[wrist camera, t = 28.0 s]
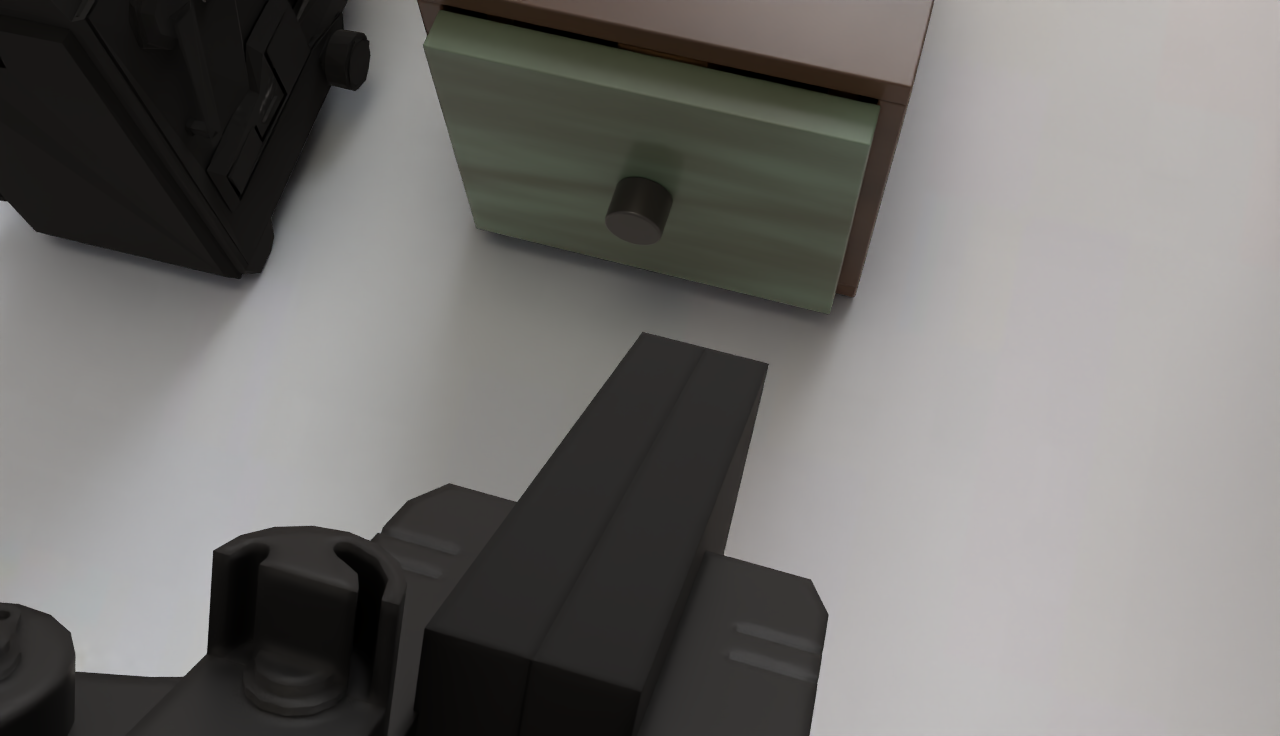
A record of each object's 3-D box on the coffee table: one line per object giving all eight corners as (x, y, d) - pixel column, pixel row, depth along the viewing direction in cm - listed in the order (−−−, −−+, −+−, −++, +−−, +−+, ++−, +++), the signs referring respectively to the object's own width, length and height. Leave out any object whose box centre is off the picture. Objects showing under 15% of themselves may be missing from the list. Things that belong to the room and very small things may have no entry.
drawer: (820, 350, 36) (859, 188, 28) (462, 261, 38) (404, 84, 30) (906, 21, 41) (959, -196, 33) (586, -45, 43) (564, -267, 35)
